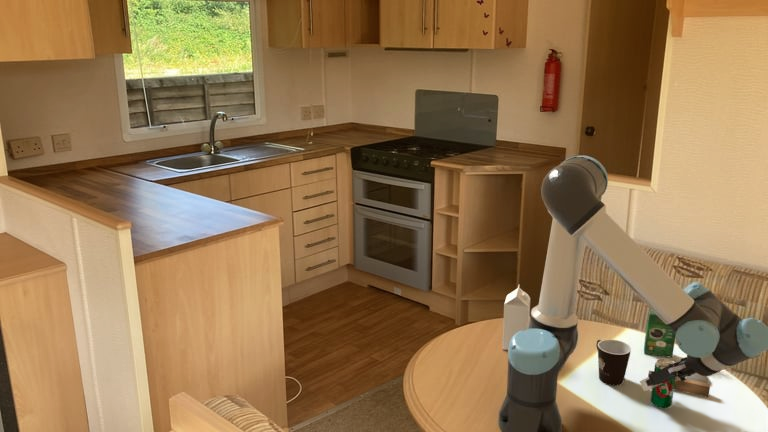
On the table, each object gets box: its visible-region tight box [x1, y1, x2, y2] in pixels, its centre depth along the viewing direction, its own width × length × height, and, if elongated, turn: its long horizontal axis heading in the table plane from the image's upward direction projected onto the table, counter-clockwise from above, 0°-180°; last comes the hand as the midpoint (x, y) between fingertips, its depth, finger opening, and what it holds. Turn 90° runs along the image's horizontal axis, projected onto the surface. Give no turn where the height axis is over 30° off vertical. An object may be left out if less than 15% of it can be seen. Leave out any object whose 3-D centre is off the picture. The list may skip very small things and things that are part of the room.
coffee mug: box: [596, 338, 632, 387], centre depth 177 cm, size 12×9×10 cm
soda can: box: [650, 357, 676, 410], centre depth 163 cm, size 5×5×12 cm
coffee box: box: [643, 310, 676, 358], centre depth 188 cm, size 8×3×13 cm, turn 70°
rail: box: [647, 370, 711, 398], centre depth 171 cm, size 15×2×3 cm, turn 61°
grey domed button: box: [685, 373, 710, 384], centre depth 176 cm, size 8×8×1 cm
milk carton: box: [501, 284, 531, 351], centre depth 193 cm, size 7×7×19 cm
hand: (651, 383), depth 167 cm, fingers closed on soda can, 5 cm apart
